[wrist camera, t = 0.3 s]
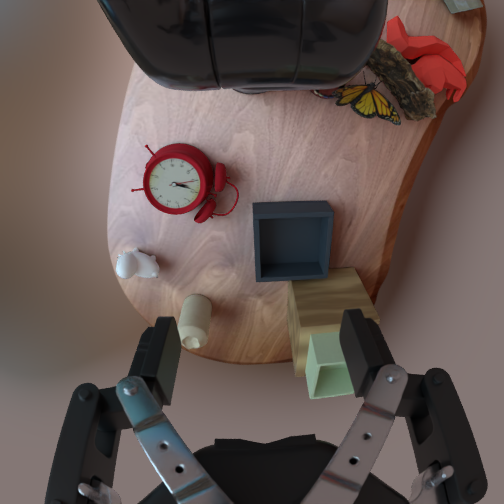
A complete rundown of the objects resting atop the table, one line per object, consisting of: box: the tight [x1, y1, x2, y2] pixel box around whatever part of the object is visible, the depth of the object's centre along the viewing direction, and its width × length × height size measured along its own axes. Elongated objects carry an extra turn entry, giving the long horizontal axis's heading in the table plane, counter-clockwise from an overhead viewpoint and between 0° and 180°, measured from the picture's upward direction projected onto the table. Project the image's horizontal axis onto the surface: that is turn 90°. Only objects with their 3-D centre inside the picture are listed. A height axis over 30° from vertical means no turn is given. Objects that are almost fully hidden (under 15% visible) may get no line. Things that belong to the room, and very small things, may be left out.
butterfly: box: [332, 68, 401, 125], centre depth 33 cm, size 12×9×5 cm
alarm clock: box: [131, 143, 239, 223], centre depth 41 cm, size 10×6×15 cm
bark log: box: [366, 39, 437, 121], centre depth 31 cm, size 18×5×7 cm, turn 48°
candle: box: [177, 294, 212, 349], centre depth 51 cm, size 6×6×10 cm
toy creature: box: [116, 248, 160, 279], centre depth 47 cm, size 5×8×6 cm, turn 64°
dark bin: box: [252, 201, 334, 282], centre depth 46 cm, size 12×12×5 cm
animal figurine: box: [387, 16, 467, 102], centre depth 30 cm, size 12×15×5 cm
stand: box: [287, 267, 380, 377], centre depth 48 cm, size 12×12×14 cm
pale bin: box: [305, 332, 354, 399], centre depth 40 cm, size 9×9×6 cm
